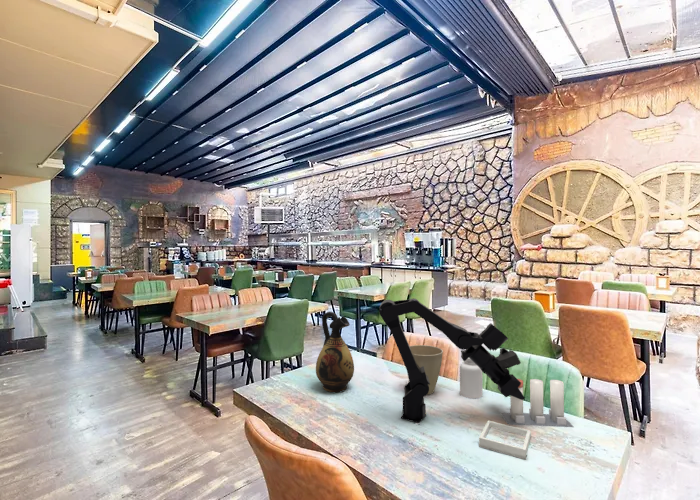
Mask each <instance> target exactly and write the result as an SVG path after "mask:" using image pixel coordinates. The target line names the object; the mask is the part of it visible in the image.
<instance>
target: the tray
mask: <svg viewBox="0 0 700 500" xmlns="http://www.w3.org/2000/svg"><path fill="white" fill-rule="evenodd" d="M491 428H492V429H497V430H500V431H503V432H508V433H512V434H514V435H515V434H516V435H520V436H524V437H525V438H524V441H523V445H522V447H521V446H518V445H515V444H510V443H506V442H503V441H499V440H495V439H491V438H487V435H488V433H489V431H490V429H491ZM531 433H532V432H531V430H530V429H527V428H523V427H517V426H515V425H510V424H504V423H500V422H497V421H491V420H487V422H486V423H485V425H484V427H483V429H482V432H481V433H480V435H479V437H478V447H479V448H483V449H485V450H489V451H493V452H497V453H501V454H504V455H508V456H511V457H515V458H518V459H521V460H527V456H528V454H527V453H528V448H529V444H530V440H531V438H532V437H531V435H532V434H531Z"/></svg>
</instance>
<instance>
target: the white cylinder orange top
mask: <svg viewBox="0 0 700 500" xmlns="http://www.w3.org/2000/svg"><path fill="white" fill-rule="evenodd" d="M517 379H518V380H519V381H520V382H521V385H520V386H519V387H518V388H519V390H520V391H521V393H522V394H523V395H524V380H522V379H520V378H517ZM509 397H510V402H509V404H510V408H511V419H512V420H515V415H520V416H523V413H524V399H523V400H521V399H518V398H516V397H513V396H511V395H509Z"/></svg>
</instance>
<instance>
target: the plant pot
mask: <svg viewBox="0 0 700 500" xmlns="http://www.w3.org/2000/svg"><path fill="white" fill-rule="evenodd" d="M409 346H410V349H411V351H412V354H413V356H414V358H415V361H416V363H417V365H418V366H419V367H420V368H421V367H423V366H424V370H425V373H426V375H427V376H428V378H429V382H430V385H429V384H428V386H429V392H428V394H427V395H432V394H433V393H434V391H435V389H436V386H437V384H438V381H439V376H440V372H441V367H442V362H443V355H444V350H443V349H442V348H440V347H437V346H433V345H424V344H423V345H422V344H418V345H417V344H415V345H409ZM427 395H426V396H427Z"/></svg>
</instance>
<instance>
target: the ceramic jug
mask: <svg viewBox="0 0 700 500" xmlns="http://www.w3.org/2000/svg"><path fill="white" fill-rule="evenodd" d="M328 318H332V321H331V323H329V325H328ZM321 322H322V323H321V324H322V330H323V334H324V339H325V340H324V342H323V346H322V348H321V350H320V352H319V354H318V357H317V359H316V363H315V374H316V378H317V380H318V381H319V382H320V383H321V384H322V389H323V390H324V391H326V392H330V393H331V392H335V393H341V392H340V391H342V392H344V391H343V390H345V391H346V389H347V385H349V383H350V382H351V381H352V379H353V378H354V377H353V376H354V374H355V373H354V372H355V364H354V359H353V355H352V353H351V351H350V349H349V347H348V346H347V344H346V342H345V340H344V339H343V337H342V336H341V330H342V329H344V328H347V327H349V326H350V322H349V320H348V319H347V318H346V317H345V316H342V317H338V315H337V313H335V312H333V311H327V312H325V313H324V314H323V316H322V318H321ZM329 328H330V329H331V333H330V331H329V330H330V329H329Z"/></svg>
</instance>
